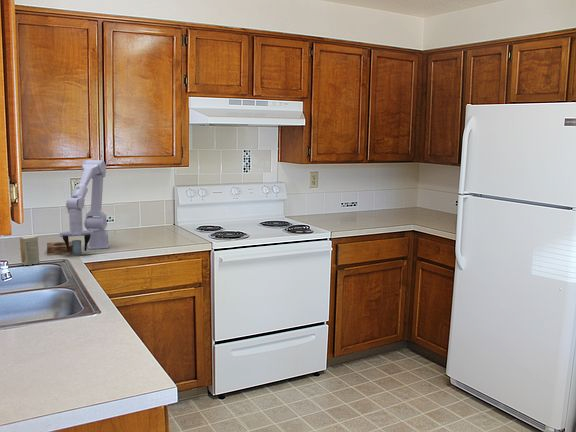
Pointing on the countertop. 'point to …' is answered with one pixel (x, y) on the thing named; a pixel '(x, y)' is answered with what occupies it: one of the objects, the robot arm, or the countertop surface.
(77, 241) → the peg
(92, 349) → the countertop surface
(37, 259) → the skincare box
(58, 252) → the walnut holder
